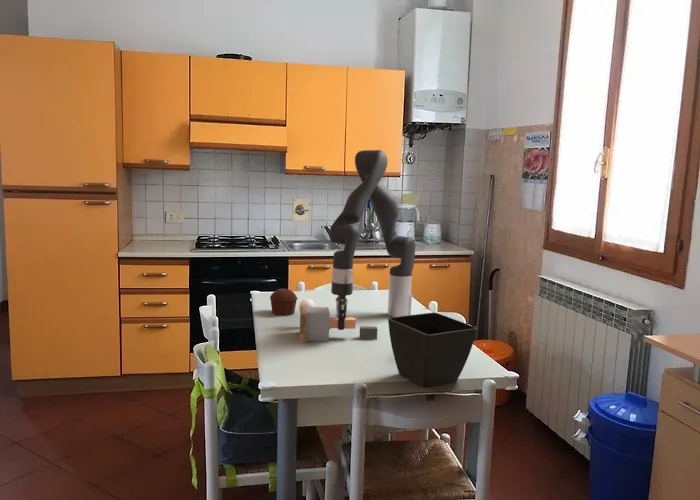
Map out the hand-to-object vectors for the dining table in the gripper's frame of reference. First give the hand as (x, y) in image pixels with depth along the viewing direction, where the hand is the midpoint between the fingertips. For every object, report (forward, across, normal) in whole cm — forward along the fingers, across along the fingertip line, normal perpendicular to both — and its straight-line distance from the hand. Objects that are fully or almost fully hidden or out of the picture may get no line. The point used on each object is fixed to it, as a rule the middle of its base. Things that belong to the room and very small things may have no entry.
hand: (340, 327), depth 210 cm
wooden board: (+4, 0, +13) cm, 14 cm away
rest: (+4, 0, -10) cm, 11 cm away
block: (+4, 0, +8) cm, 9 cm away
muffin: (+4, +34, +21) cm, 40 cm away
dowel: (0, 0, +3) cm, 3 cm away
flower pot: (+4, -40, -23) cm, 46 cm away
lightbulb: (+4, +13, +12) cm, 18 cm away
